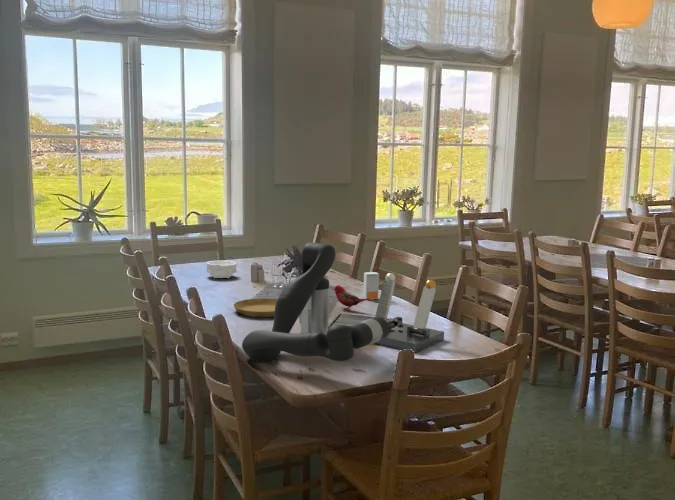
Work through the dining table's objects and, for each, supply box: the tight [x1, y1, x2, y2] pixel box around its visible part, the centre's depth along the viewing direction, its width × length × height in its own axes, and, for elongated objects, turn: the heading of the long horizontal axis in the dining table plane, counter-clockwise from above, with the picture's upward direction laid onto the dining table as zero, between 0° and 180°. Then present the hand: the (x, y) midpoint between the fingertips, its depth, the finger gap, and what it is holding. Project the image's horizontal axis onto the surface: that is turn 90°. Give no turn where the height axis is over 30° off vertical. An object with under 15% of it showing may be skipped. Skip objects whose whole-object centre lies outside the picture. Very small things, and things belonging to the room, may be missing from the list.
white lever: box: [374, 272, 396, 318], centre depth 236 cm, size 4×5×20 cm
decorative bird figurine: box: [332, 284, 370, 311], centre depth 269 cm, size 3×18×10 cm, turn 59°
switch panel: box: [374, 322, 445, 354], centre depth 230 cm, size 20×26×6 cm
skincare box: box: [362, 271, 380, 301], centre depth 291 cm, size 6×4×12 cm
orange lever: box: [410, 279, 437, 336], centre depth 227 cm, size 4×5×20 cm
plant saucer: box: [233, 297, 278, 318], centre depth 265 cm, size 24×24×3 cm
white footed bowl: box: [206, 260, 237, 279], centre depth 332 cm, size 15×15×8 cm
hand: (400, 320), depth 214 cm, fingers closed
